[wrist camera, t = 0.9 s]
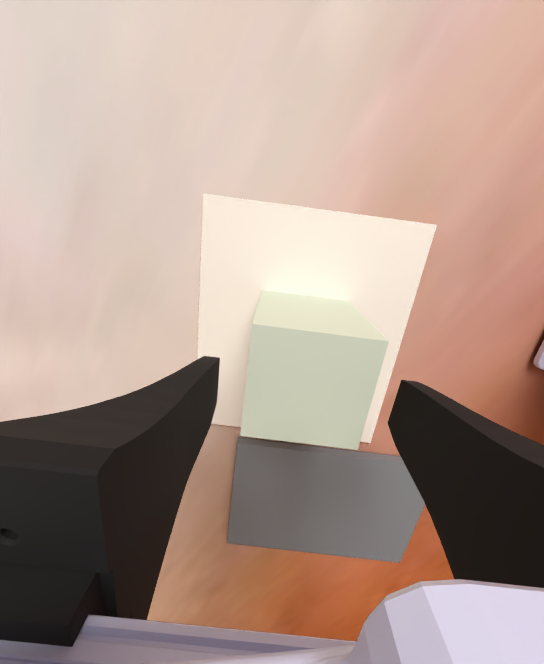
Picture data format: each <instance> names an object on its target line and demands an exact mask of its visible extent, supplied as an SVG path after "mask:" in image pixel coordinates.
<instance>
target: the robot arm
mask: <svg viewBox="0 0 544 664" xmlns="http://www.w3.org/2000/svg"><path fill="white" fill-rule="evenodd" d="M219 365H220V358H218V357H210V356H203V357H201V358H199V359H197V360H196V361H194V362H192V363H191V364H189V365H187V366H186V367H184V368H182V369H180V370H179V371H177V372H175V373H173V374H171V375H169V376H167V377H165V378H163V379H161V380H159V381H157V382H155V383H153V384H151V385H149V386H147V387H144V388H142V389H139V390H137V391H134V392H132V393H129V394H126V395H123V396H120V397H117V398H114V399H110V400H107V401H104V402H100V403H97V404H94V405H90V406H86V407H82V408H77V409H73V410H68V411H64V412H59V413H54V414H49V415H43V416H37V417H30V418H24V419H17V420H10V421H4V422H0V664H544V445H541V444H539V443H537V442H535V441H533V440H530V439H528V438H526V437H524V436H521V435H519V434H517V433H515V432H513V431H511V430H509V429H506V428H504V427H502V426H501V425H499V424H497V423H495V422H493V421H491V420H489V419H487V418H485V417H483V416H481V415H479V414H477V413H476V412H474V411H472V410H470V409H468V408H466V407H465V406H463V405H461V404H459V403H457V402H456V401H454V400H452V399H450V398H448V397H447V396H445V395H443V394H441V393H439V392H438V391H436V390H434V389H432V388H430V387H428V386H426V385H424V384H421V383H419V382H415V381H406V380H401V383H400V386H399V389H398V392H397V396H396V399H395V402H394V405H393V408H392V411H391V414H390V417H389V421H388V425H389V428H390V431H391V434H392V437H393V440H394V443H395V446H396V448H397V450H398V452H399V454H400V456H401V458H402V460H403V462H404V464H405V466H406V468H407V469H408V471H409V473H410V475H411V477H412V479H413V481H414V483H415V485H416V487H417V489H418V491H419V493H420V495H421V496H422V498H423V500H424V502H425V505H426V507H427V509H428V511H429V513H430V515H431V518H432V520H433V523H434V525H435V528H436V530H437V533H438V535H439V538H440V540H441V543H442V546H443V548H444V551H445V554H446V557H447V559H448V562H449V565H450V568H451V570H452V573H453V576H454V578H455V579H454V580H438V581H421V582H418V583H416V584H413V585H411V586H408V587H406V588H403V589H401V590H398V591H396V592H394V593H391V594H389V595H387V596H386V597H385V598H384V599H383V600H382V601H381V602H380V603H379V605H378V606H377V607H376V608H375V609H374V610H373V611H372V612H371V613H370V615H369V616H368V618H367V619H366V621H365V623H364V624H363V627H362V629H361V632H360V634H359V637H358V639H357V642H356V641H346V640H336V639H327V638H317V637H307V636H297V635H287V634H277V633H267V632H257V631H248V630H238V629H228V628H218V627H208V626H198V625H188V624H179V623H169V622H159V621H149V620H147V616H148V613H149V609H150V605H151V602H152V598H153V594H154V591H155V587H156V584H157V580H158V577H159V573H160V569H161V566H162V562H163V559H164V555H165V552H166V548H167V545H168V542H169V538H170V535H171V532H172V528H173V525H174V522H175V518H176V515H177V512H178V508H179V505H180V502H181V499H182V496H183V492H184V489H185V486H186V483H187V481H188V478H189V475H190V473H191V470H192V468H193V466H194V463H195V461H196V459H197V456H198V454H199V452H200V449H201V447H202V445H203V442H204V440H205V437H206V435H207V433H208V430H209V428H210V425H211V422H212V419H213V415H214V412H215V408H216V404H217V395H218V380H219ZM534 365H535V366H536V367H538V368H540V369H542V370H544V340H543V342H542V344H541V346H540V348H539V350H538V352H537V354H536V356H535V358H534Z"/></svg>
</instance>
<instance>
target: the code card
mask: <svg viewBox="0 0 544 664" xmlns="http://www.w3.org/2000/svg"><path fill="white" fill-rule="evenodd" d="M436 226H437V225H434V224H426V223H419V222H412V221H404V220H397V219H389V218H382V217H374V216H367V215H360V214H352V213H345V212H337V211H330V210H322V209H315V208H308V207H300V206H293V205H285V204H278V203H270V202H263V201H255V200H248V199H241V198H233V197H226V196H218V195H211V194H203V214H202V242H201V269H200V296H199V323H198V351H197V359H199V358H201V357H203V356H210V357H218V358H220V365H219V380H218V395H217V404H216V408H215V412H214V415H213V419H212V422H211V424H217V425H226V426H234V427H241V424H242V415H243V405H244V396H245V386H246V377H247V367H248V358H249V348H250V339H251V330H252V323H253V319H254V316H255V312H256V309H257V306H258V302H259V299H260V296H261V292H262V290H265V291H272V292H280V293H288V294H296V295H303V296H311V297H319V298H327V299H334V300H342V301H350V302H351V303H352V304H353V305H354V306H355V307H356V308H357V309H358V310H359V311H360V312H361V313H362V314H363V315H364V316H365V317H366V318H367V319H368V320H369V321H370V322H371V323H372V324H373V325H374V326H375V327H376V328H377V329H378V330H379V332H380V333H381V334H382V335H383V336H384V337H385V338H386V339H387V340H388V341H389V343H388V347H387V350H386V354H385V357H384V360H383V364H382V367H381V371H380V374H379V378H378V381H377V385H376V388H375V392H374V395H373V399H372V402H371V405H370V409H369V412H368V416H367V419H366V423H365V426H364V430H363V433H362V437H361V440H360V442H367V443H371V439H372V436H373V433H374V429H375V426H376V423H377V420H378V416H379V413H380V410H381V406H382V403H383V400H384V397H385V393H386V390H387V387H388V384H389V380H390V377H391V374H392V370H393V367H394V364H395V361H396V357H397V354H398V351H399V348H400V344H401V341H402V338H403V334H404V331H405V328H406V325H407V321H408V318H409V315H410V312H411V308H412V305H413V302H414V298H415V295H416V292H417V289H418V285H419V282H420V279H421V276H422V272H423V269H424V266H425V262H426V259H427V256H428V253H429V249H430V246H431V243H432V239H433V236H434V233H435V230H436Z"/></svg>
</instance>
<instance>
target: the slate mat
mask: <svg viewBox="0 0 544 664" xmlns="http://www.w3.org/2000/svg"><path fill="white" fill-rule="evenodd" d="M424 505H425V502H424V500H423V498H422V496H421V495H420V493H419V491H418V489H417V487H416V485H415V483H414V481H413V479H412V477H411V475H410V473H409V471H408V469H407V468H406V466H405V464H404V462H403V460H402V458H401V456H393V455H384V454H376V453H368V452H359V451H351V450H343V449H334V448H326V447H318V446H309V445H301V444H293V443H284V442H276V441H268V440H259V439H251V438H243V437H238V441H237V449H236V458H235V468H234V478H233V488H232V498H231V507H230V517H229V527H228V537H227V543H230V544H239V545H248V546H257V547H265V548H274V549H283V550H292V551H301V552H309V553H318V554H327V555H336V556H345V557H354V558H362V559H371V560H380V561H389V562H398V563H400V561H401V559H402V557H403V554H404V552H405V550H406V547H407V545H408V543H409V540H410V538H411V536H412V533H413V531H414V529H415V526H416V524H417V522H418V519H419V517H420V515H421V512H422V510H423V508H424Z"/></svg>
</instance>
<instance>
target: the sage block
mask: <svg viewBox="0 0 544 664" xmlns="http://www.w3.org/2000/svg"><path fill="white" fill-rule="evenodd" d="M388 343H389V341H388V340H387V339H386V338H385V337H384V336H383V335H382V334H381V333H380V332H379V330H378V329H377V328H376V327H375V326H374V325H373V324H372V323H371V322H370V321H369V320H368V319H367V318H366V317H365V316H364V315H363V314H362V313H361V312H360V311H359V310H358V309H357V308H356V307H355V306H354V305H353V304H352V303H351V302H350V301H342V300H334V299H327V298H319V297H311V296H303V295H296V294H288V293H280V292H272V291H265V290H262V292H261V296H260V299H259V302H258V306H257V309H256V312H255V316H254V319H253V323H252V330H251V339H250V348H249V358H248V367H247V377H246V386H245V396H244V405H243V415H242V424H241V433H240V436H246V437H254V438H262V439H270V440H279V441H287V442H295V443H304V444H312V445H320V446H329V447H337V448H345V449H354V450H358V447H359V443H360V440H361V437H362V433H363V430H364V426H365V423H366V419H367V416H368V412H369V409H370V405H371V402H372V399H373V395H374V392H375V388H376V385H377V381H378V378H379V374H380V371H381V367H382V364H383V360H384V357H385V354H386V350H387V347H388Z"/></svg>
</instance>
